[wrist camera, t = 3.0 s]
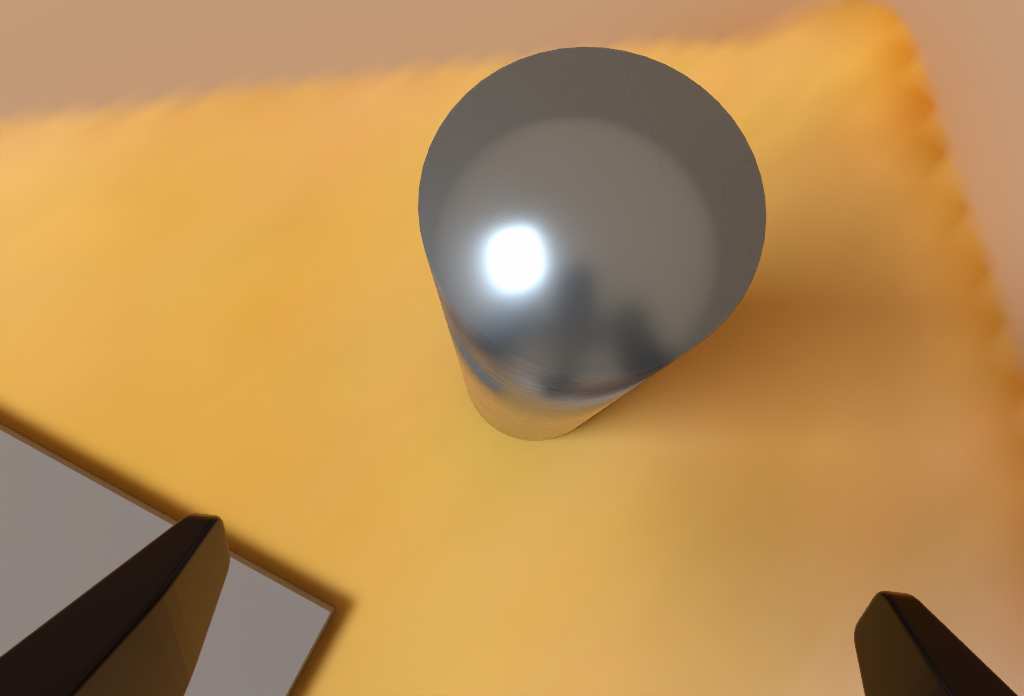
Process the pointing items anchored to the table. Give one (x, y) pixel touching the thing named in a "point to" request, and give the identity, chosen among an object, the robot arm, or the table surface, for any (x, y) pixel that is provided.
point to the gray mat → (113, 540)
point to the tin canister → (584, 231)
